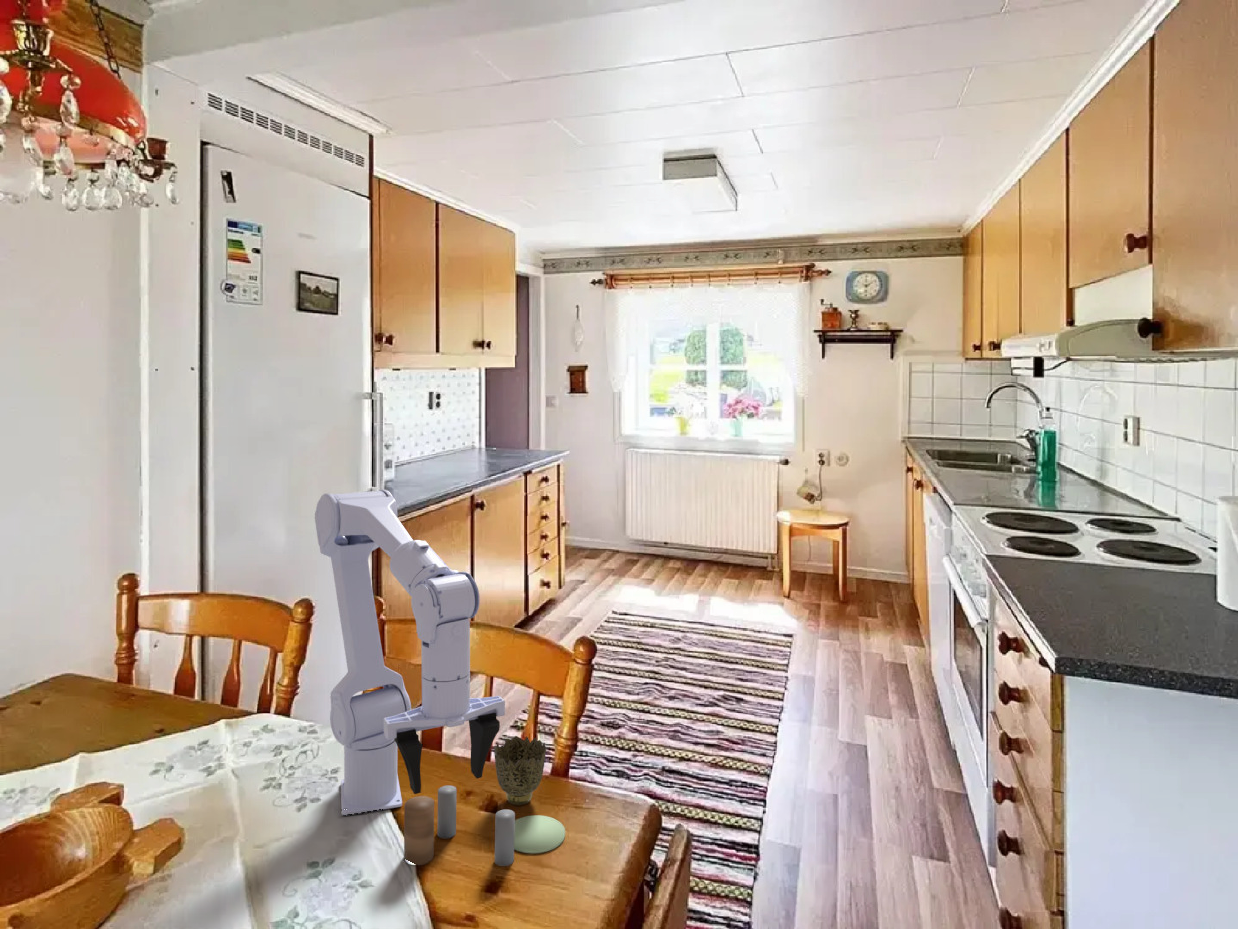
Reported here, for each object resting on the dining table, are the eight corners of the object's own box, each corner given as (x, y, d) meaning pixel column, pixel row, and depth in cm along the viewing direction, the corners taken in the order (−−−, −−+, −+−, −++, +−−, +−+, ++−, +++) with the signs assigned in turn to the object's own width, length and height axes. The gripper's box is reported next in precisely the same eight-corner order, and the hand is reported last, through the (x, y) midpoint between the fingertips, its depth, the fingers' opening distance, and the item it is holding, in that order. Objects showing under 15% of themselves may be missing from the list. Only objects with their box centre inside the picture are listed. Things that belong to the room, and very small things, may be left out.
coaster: (499, 824, 101) (499, 821, 101) (555, 814, 104) (555, 811, 104) (512, 858, 94) (512, 855, 94) (572, 846, 97) (572, 843, 97)
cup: (520, 781, 112) (521, 730, 112) (555, 799, 108) (557, 746, 107) (482, 801, 107) (483, 747, 106) (517, 821, 102) (518, 765, 101)
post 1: (436, 830, 99) (436, 787, 99) (454, 826, 100) (455, 784, 100) (438, 840, 97) (439, 796, 97) (457, 836, 98) (457, 793, 97)
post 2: (492, 856, 94) (493, 811, 94) (511, 853, 95) (512, 808, 94) (496, 867, 92) (497, 821, 91) (515, 864, 93) (516, 818, 92)
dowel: (402, 851, 95) (403, 798, 94) (431, 846, 96) (432, 794, 95) (405, 868, 91) (405, 814, 91) (435, 862, 93) (435, 809, 92)
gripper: (393, 695, 83) (394, 813, 84) (514, 673, 91) (514, 781, 91) (378, 676, 89) (380, 786, 90) (493, 657, 97) (493, 758, 98)
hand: (446, 782), depth 91 cm, fingers open, 7 cm apart
